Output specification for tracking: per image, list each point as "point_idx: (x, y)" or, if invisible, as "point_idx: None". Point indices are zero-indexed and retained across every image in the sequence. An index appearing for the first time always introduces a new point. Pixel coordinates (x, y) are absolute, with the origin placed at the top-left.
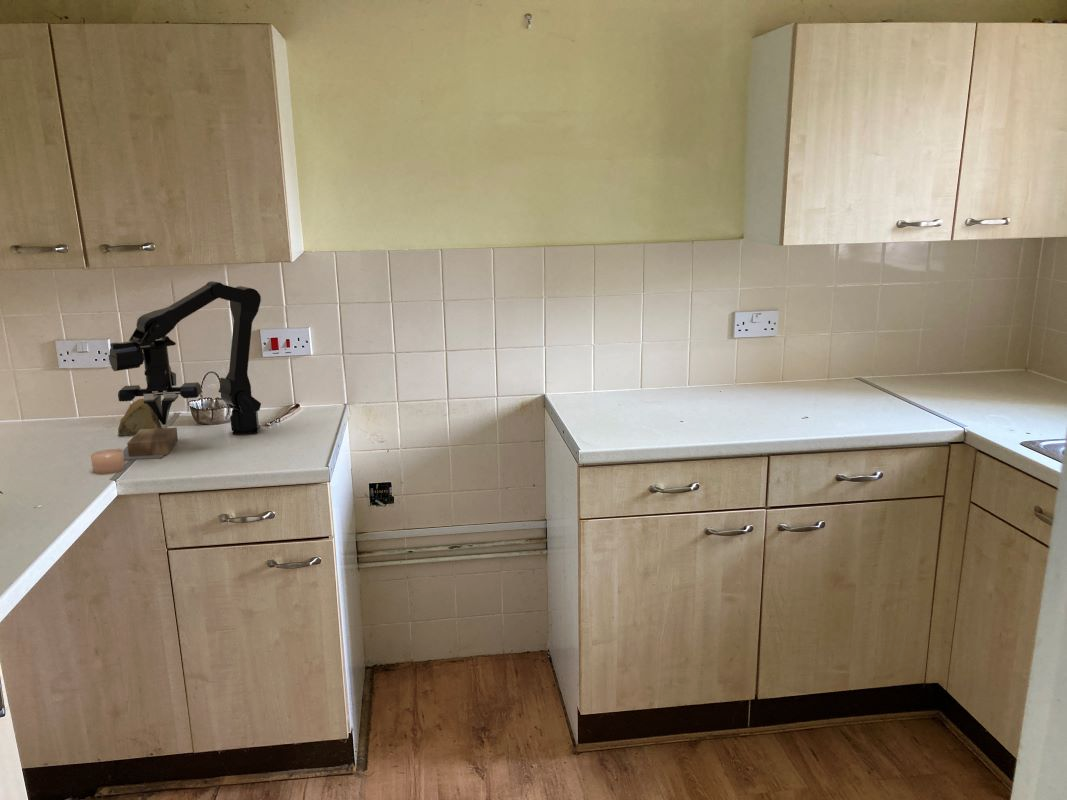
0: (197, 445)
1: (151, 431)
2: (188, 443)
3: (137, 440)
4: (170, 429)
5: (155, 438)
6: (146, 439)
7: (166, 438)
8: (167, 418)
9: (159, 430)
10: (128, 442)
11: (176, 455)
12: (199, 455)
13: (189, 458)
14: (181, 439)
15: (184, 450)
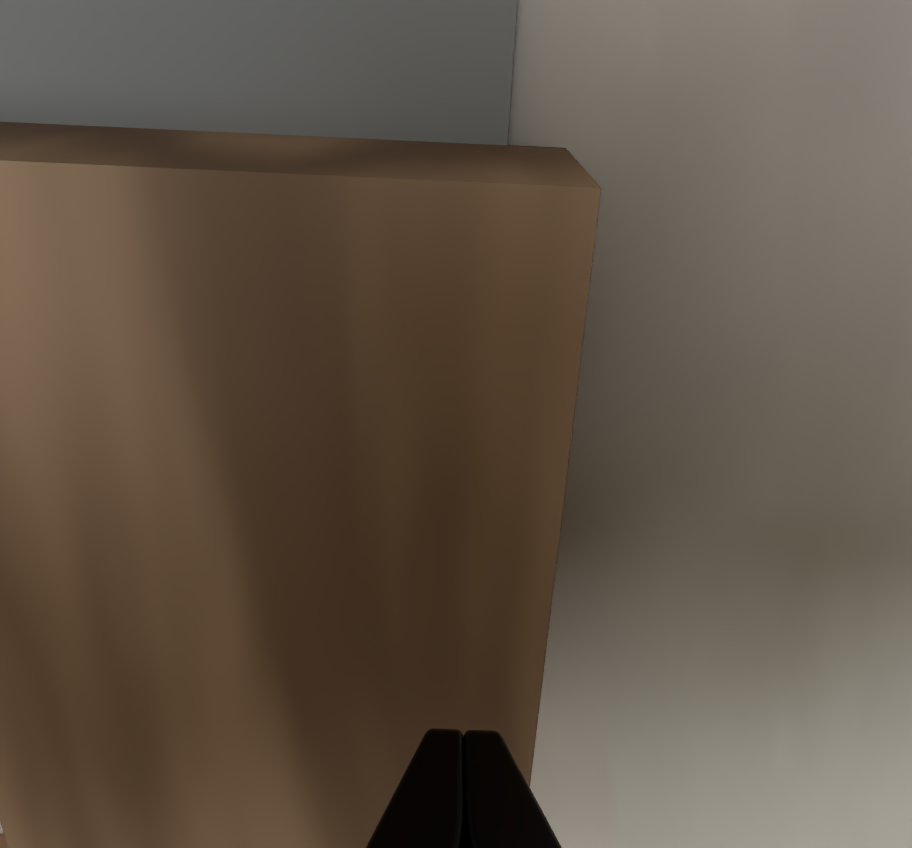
0: (851, 431)
1: (136, 377)
2: (729, 305)
3: (105, 788)
4: (492, 317)
5: (347, 760)
6: (223, 771)
7: None
8: (543, 838)
9: (278, 337)
10: (14, 840)
11: (606, 727)
12: (846, 773)
13: (744, 827)
14: (608, 31)
15: (685, 590)
